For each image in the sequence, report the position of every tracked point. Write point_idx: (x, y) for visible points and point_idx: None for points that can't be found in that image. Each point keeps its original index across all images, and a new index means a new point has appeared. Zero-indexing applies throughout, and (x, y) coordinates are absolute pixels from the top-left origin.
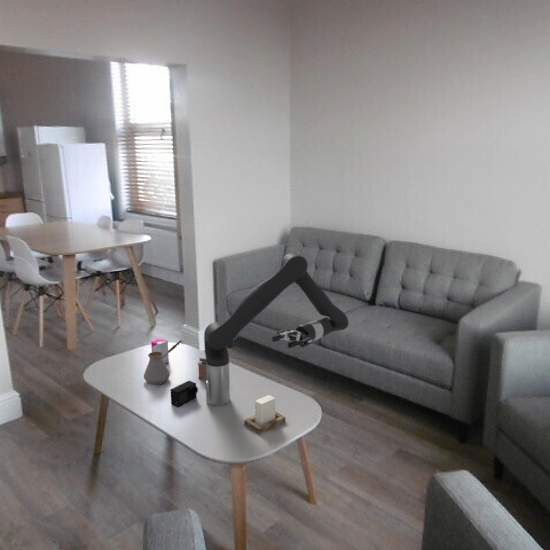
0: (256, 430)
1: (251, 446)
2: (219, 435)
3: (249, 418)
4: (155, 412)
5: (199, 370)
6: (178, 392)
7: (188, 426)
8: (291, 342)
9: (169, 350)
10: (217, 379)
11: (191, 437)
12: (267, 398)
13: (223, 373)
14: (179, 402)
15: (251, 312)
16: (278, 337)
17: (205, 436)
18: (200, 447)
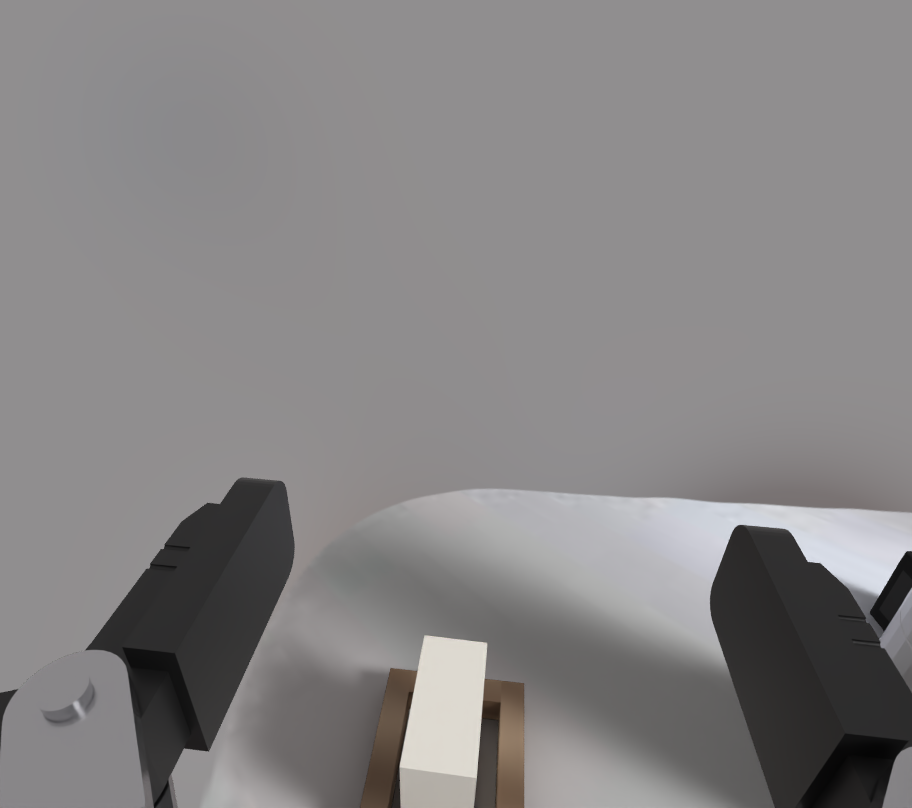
0: None
1: (363, 596)
2: (528, 575)
3: (516, 714)
4: (854, 539)
5: None
6: (907, 557)
7: (671, 549)
8: (213, 519)
9: None
10: (882, 635)
11: (589, 516)
12: (445, 721)
13: (903, 642)
14: (885, 602)
15: None
16: (779, 691)
17: (561, 544)
18: (512, 500)
